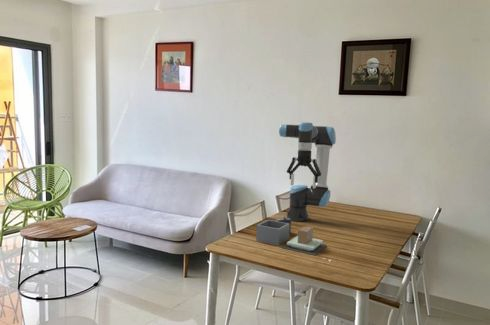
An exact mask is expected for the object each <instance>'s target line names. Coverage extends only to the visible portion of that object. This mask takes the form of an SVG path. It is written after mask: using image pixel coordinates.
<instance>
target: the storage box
mask: <svg viewBox="0 0 490 325" xmlns="http://www.w3.org/2000/svg"><path fill="white" fill-rule="evenodd" d="M289 228H290V224H289V223H283V222H278V221H277V220H273V219H272V220H271V219H266V220H265V221H262V222H261V223H258V224H257V225H256V235H255V236H256V237H255V238H256V239H255V240H256V241H257V242H259V243H260V242H261V243H265V244H270V245H275V246H280V245H281V244H283V243H284V242H286V241H288V240H289V239H290V234H289Z"/></svg>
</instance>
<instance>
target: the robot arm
mask: <svg viewBox="0 0 490 325" xmlns="http://www.w3.org/2000/svg"><path fill="white" fill-rule="evenodd" d="M278 129H279V130H278V134H279V135H278V136H280V137H282V138H293V139H298V146H297V148H298V150H297V157H295V156H294V157H292V160H291V162H290V164H289V166H288V168H287V169H286V173H287V174H289V177H288V178H289V180H290V186H291V187H290V188H289V189H290V191H289V208H288V211H287V213H286V219H288V218H290V219H291V222H297V223H298V222H299V223H300V222H307V221H309V218H310V217H309V213H308V208H307V206H313V207H318V208H326V207H327V206H328V204H329V202H330V198H331V190H330V189H329V187H328V184H327V182H328V170H329V162H330V152H331V151H330V150H331V149H332V148H333V147H334V146H333V145H335V144H336V140H337V139H336V137H337V136H336V130H335V128H334V127H333V126H322V125H321V126H320V125H318V126H317V125H313V122H306V121H304V122H303V121H302V122H299V124H280V126H279V128H278ZM313 144H314V146H315V147H316V155H315V158H313V159H312V148H313ZM296 162H297V163H296ZM311 163H312V164H313V166H312V164H311ZM295 164H296V165H295ZM294 165H295V166H294ZM300 166H301V167H307V168H308V169H309V170H310V171H311V173H312V175H313V177H312V178H313V179H312V180H313V181H312V184H311V185H310V187H309V186H308V185H305V184H298V185H294V184H295V183H294V182H295V181H294V180H295V171H297V169H298V168H299V167H300Z"/></svg>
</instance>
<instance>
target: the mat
mask: <svg viewBox="0 0 490 325" xmlns="http://www.w3.org/2000/svg"><path fill="white" fill-rule="evenodd" d="M326 246H327V244H324V243H321V244H320V245H319V246H318V247H317V248H315V249H314V250H312V251H307V250H303V249H298V248H293V247H291V245H287V244H286V245H284V246H283V247H282V249H284V250H288V251H294V252H298V253H302V254H306V255H309V256H310V255H311V256H316V255H318V253H320V252H321V251H322V250H323V249H325V247H326Z"/></svg>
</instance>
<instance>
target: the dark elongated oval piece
mask: <svg viewBox="0 0 490 325" xmlns="http://www.w3.org/2000/svg"><path fill="white" fill-rule="evenodd" d="M281 217H282V218H279V219H278V218H277V219H276V221H278V222H283V223H289V224H290V228H289V235H290V234H291V227H292V226H291V225H292V221H291V219H290V218H288V219H287V217H285V215H283V216H281Z"/></svg>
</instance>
